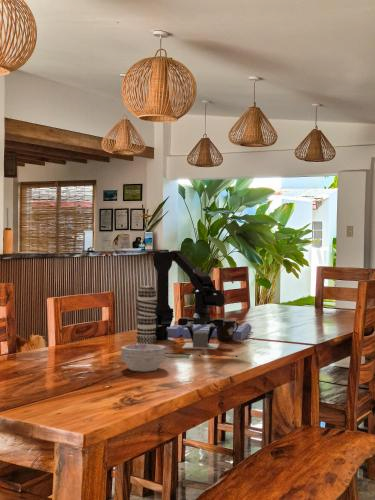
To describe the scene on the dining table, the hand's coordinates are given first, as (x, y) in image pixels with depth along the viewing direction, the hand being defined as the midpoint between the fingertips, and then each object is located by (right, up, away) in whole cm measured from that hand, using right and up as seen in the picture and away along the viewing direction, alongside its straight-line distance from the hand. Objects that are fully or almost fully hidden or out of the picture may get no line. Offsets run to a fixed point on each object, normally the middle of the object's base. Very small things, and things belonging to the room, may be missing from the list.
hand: (201, 342), depth 269 cm
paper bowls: (-21, -3, -45) cm, 49 cm away
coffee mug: (+12, -3, +18) cm, 22 cm away
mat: (-10, -3, -15) cm, 18 cm away
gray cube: (0, -1, 0) cm, 1 cm away
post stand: (0, -3, 0) cm, 2 cm away
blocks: (+6, -3, +43) cm, 43 cm away
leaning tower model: (-23, -2, +9) cm, 25 cm away
